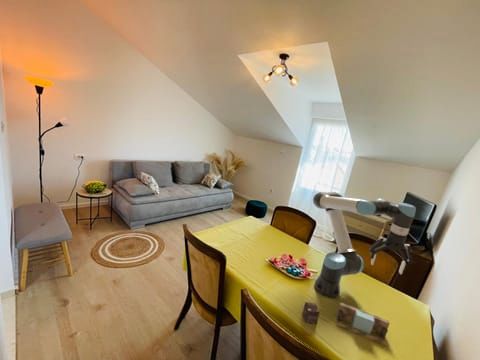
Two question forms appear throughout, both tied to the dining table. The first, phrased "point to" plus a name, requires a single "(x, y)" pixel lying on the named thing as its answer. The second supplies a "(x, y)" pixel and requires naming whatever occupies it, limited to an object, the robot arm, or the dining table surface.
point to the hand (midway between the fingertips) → (385, 268)
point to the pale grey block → (363, 322)
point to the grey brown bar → (348, 315)
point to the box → (310, 312)
